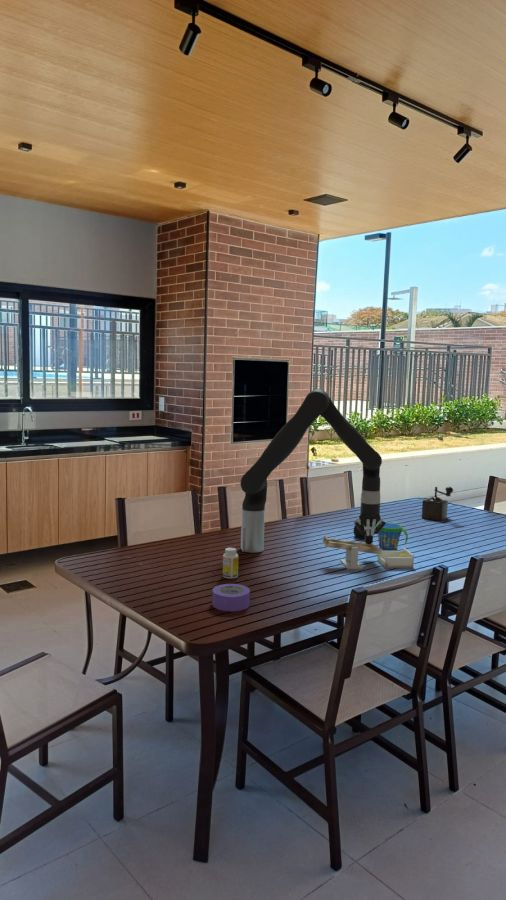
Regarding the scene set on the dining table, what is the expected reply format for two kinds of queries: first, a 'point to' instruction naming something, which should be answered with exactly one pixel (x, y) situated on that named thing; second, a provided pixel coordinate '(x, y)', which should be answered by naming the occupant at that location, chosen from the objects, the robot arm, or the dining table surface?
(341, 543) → the lever
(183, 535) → the dining table surface
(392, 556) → the tray
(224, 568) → the supplement bottle
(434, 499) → the brown manual coffee grinder
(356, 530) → the mate gourd
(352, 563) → the stand
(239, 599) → the tape roll
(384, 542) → the snack cup
